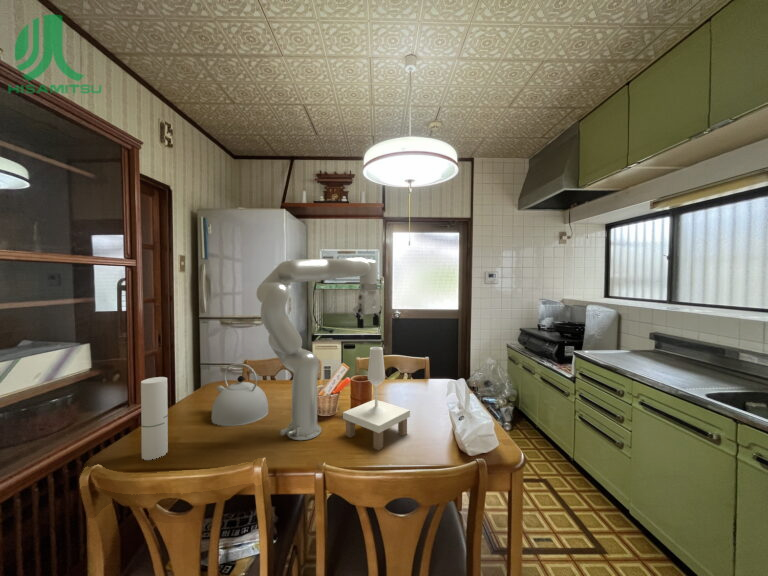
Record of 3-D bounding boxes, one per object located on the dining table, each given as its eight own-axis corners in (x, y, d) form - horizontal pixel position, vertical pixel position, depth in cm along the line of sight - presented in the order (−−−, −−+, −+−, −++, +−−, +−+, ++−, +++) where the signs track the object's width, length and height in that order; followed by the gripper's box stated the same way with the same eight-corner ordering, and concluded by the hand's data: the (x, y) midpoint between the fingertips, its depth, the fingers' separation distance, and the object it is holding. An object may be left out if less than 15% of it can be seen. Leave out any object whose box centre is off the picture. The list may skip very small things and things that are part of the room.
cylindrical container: (172, 448, 112) (172, 376, 111) (158, 460, 104) (158, 383, 104) (151, 449, 111) (150, 377, 111) (136, 460, 104) (135, 383, 104)
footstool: (378, 452, 110) (378, 425, 109) (343, 435, 121) (343, 412, 121) (409, 433, 123) (409, 410, 123) (375, 420, 135) (375, 399, 135)
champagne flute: (375, 406, 127) (375, 345, 126) (388, 410, 123) (388, 347, 122) (363, 411, 122) (363, 348, 121) (377, 416, 117) (377, 350, 117)
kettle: (194, 420, 135) (194, 367, 134) (236, 402, 156) (236, 355, 156) (241, 430, 126) (241, 372, 126) (279, 409, 147) (278, 360, 147)
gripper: (359, 288, 133) (360, 329, 133) (387, 287, 145) (387, 325, 146) (347, 288, 138) (347, 328, 138) (375, 287, 150) (375, 324, 151)
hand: (368, 326), depth 142 cm, fingers open, 9 cm apart
